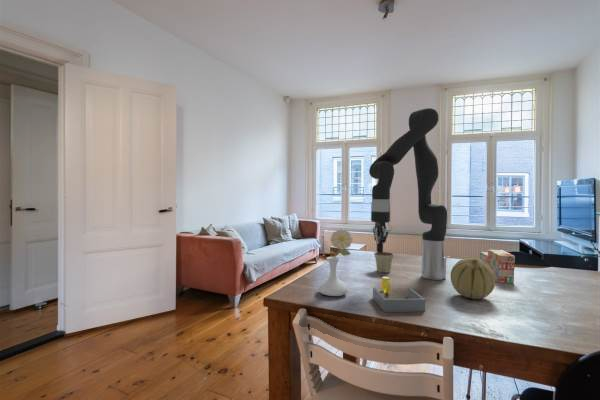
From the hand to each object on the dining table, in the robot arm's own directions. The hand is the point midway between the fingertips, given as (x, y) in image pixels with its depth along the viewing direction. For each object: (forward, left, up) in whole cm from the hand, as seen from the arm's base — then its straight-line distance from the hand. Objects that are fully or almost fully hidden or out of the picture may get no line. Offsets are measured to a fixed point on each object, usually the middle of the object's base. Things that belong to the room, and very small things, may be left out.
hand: (379, 252), depth 127 cm
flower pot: (-9, -22, -14) cm, 28 cm away
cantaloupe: (-30, +15, -14) cm, 36 cm away
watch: (0, +8, -14) cm, 16 cm away
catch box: (0, +20, -14) cm, 24 cm away
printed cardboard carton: (-58, -11, -14) cm, 61 cm away
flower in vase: (+20, +9, -14) cm, 26 cm away
